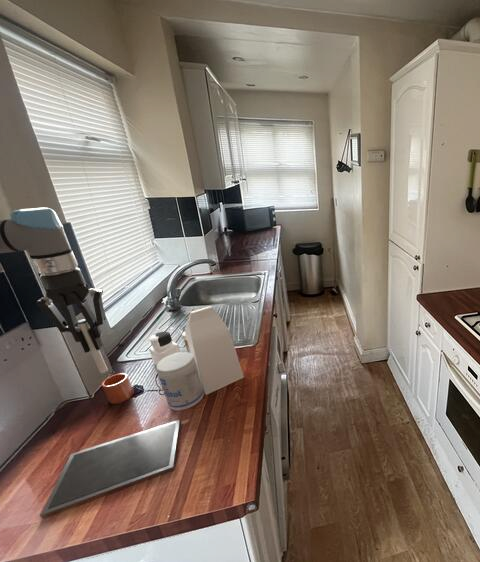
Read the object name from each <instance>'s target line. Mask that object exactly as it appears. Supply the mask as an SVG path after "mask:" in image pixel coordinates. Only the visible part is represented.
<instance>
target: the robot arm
mask: <svg viewBox="0 0 480 562" xmlns="http://www.w3.org/2000/svg"><path fill="white" fill-rule="evenodd" d="M9 216H10V218H9V219H1V220H0V254H6V253H15V252H24V251H26V252H27V254H28V256H29V258H30V259H31V262H32V264H33V266H34V268H35V270H36V273H38V274H40V276H39V279H40V282H41V284H42V286H43V287H44V289H45V291H46V292H45V296H44V297H41V298H39V299H37V301H35V305H36V306H38V307H39V308H41V309H42V310H43V311H44V312H45V313H46V315H47V316H48V318H49V319H50V320H51V321H52V323H53V324H54V325H55V327H56V328H57V330H58V331H59V333H65V332H66V333H71V336H72V338H73V340H74V342H76V343H80V345H81V347H82V349H83V351H84V353H85V354H86V353H89V352H91V351H90V349H89V347H88V345H87V342H86V340H85V338H84V336H83V333H82V331H81V329H80V327H79V325H78V320H77V316H76V312H75V310H74V306H73V305H75V307H76V308H78V309H79V311H80V313H81V315H82V316H83V319H86V321H87V323H88V325H89V327H90V328H89V329H88V333H89V335H90V337H91V339H92V342H93V344H94V346H95V348H96V350H100V351H101V349H102V347H103V342H102V340H101V337H102V336H103V332H102V329H101V327H100V326H102V325H103V324H104V323H105V321H106V314H105V308H104V303H103V298H102V296H103V293H104V289H103V288H98V289H97V288H92V287H90V286H89V285H88V284H87V282H86V280H85V277H84V275H83V273H82V270H81V268H79V267H78V266H79V263H78V260H77V259H76V258H77V257H76V256H75V254H74V251H73V249H72V248H71V244H70V242H69V239H68V237H67V234H66V232H65V229H64V225H63V224H62V223H61V221H60V219H59V216H58V214H57V213H56V211H55V210H54V209H52V208H49V207H32V208H21V209H15V210H11V212H10V213H9ZM88 295H90V297H91V298H92V303H93V308H94V311H93V310H92V309H91V306H90V305H89V303H88V300H87V297H88ZM53 302H55V303H57V304H59V307H60V310H61V311H62V312H63V313H62V314H63V315H62V314H61V312H60V311H59V310H58V308H57V307H56V305H55V304H54V303H53ZM94 313H95V314H94Z"/></svg>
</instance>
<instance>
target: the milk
mask: <svg viewBox="0 0 480 562" xmlns="http://www.w3.org/2000/svg"><path fill="white" fill-rule="evenodd" d="M184 332H185V333H186V337H187V341H188V345H189V349H190V353H191V354H192V355H193V357H194V359H195V362H196V366H197V369H198V373H199V377H200V380H201V384H202V387H203V391H204V395H205V396H207V395H209V394H211V393H214V392H216V391H219V390H220V389H223V388H224V387H227V386H229V385H231V384H233V383H235V382H237V381H239V380H242V379H244V378H245V376H244V373H243V370H242V365H241V363H240V359H239V357H238V353H237V350H236V347H235V344H234V341H233V338H232V334H231V332H230V330H229V328H228V326H227V324H226V323H225V322H224V320H223V318H222V317H221V316H220V314H219V313H218V312H217V311H216V310H215V308H214V307H213V306H211V305H209V306H205V307H201V308H199V309H196V310H192V311H190V312H189V316H188V320H187V323H186V325H185V328H184Z"/></svg>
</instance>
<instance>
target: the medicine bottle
mask: <svg viewBox="0 0 480 562" xmlns="http://www.w3.org/2000/svg"><path fill="white" fill-rule="evenodd" d="M149 341H150V344H151V346H150V347H148V351H149V354H150V356H151V359H152V361H153V364H154V365H155V366H156V367H157V364H158V363H159V362H160V361H161V360H162V359H164V358H165V357H167V356H169V355H172V354H175V353H179V352H181V349H180V346H179V344H178V343H176V342H175V341H173V338H172V335H171V333H170V332H169V331H159V332H156V333H155V334H153V335H151V336H150V338H149Z"/></svg>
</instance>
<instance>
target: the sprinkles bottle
mask: <svg viewBox="0 0 480 562" xmlns="http://www.w3.org/2000/svg"><path fill="white" fill-rule="evenodd" d="M181 338H182V340H183V341H184V344H185V348H186V352H188V353H190V349H189V345H188V341H187V337H186V333H185V331H183V332H182V333H181Z"/></svg>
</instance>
